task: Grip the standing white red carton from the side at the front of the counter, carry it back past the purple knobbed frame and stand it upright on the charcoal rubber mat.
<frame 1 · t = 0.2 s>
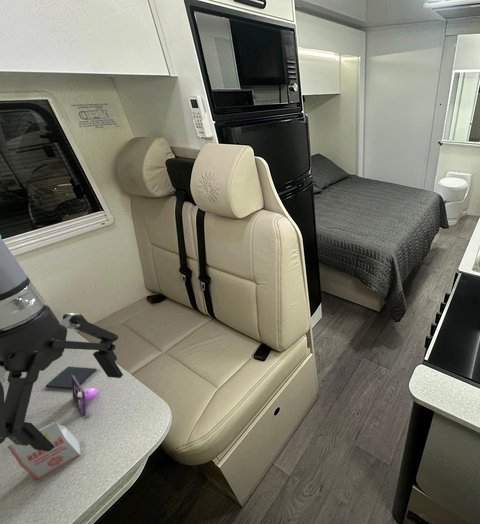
hand: (84, 407, 51), 18 cm above the table, tool pointing down, fingers open, 13 cm apart
mat: (72, 378, 79), on the table
white red carton: (59, 460, 60), on the table
purple knobbed frame: (90, 400, 73), on the table
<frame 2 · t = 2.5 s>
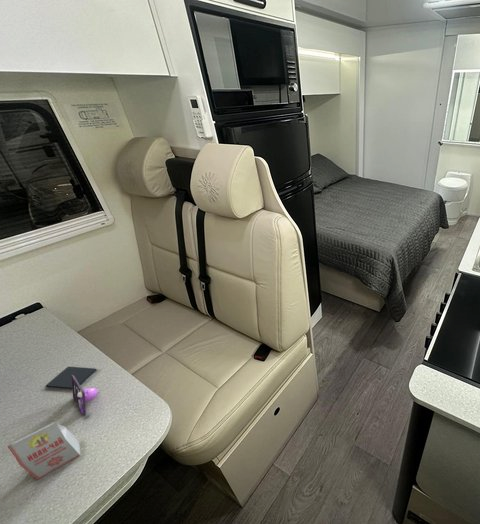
nothing on the table moved.
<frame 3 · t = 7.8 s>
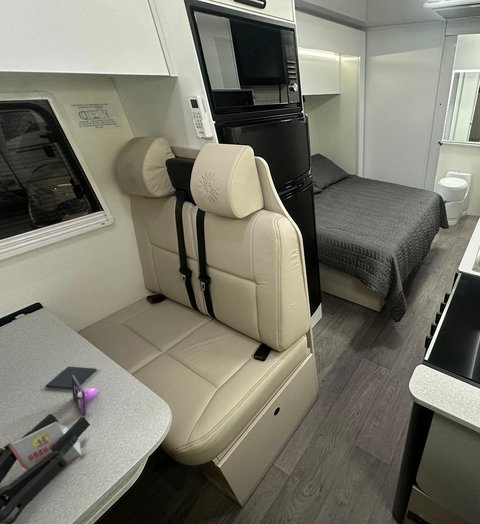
hand: (69, 419, 62), 6 cm above the table, tool horizontal, fingers closed on white red carton, 7 cm apart
white red carton: (60, 460, 61), on the table, touching gripper
everything else where it was.
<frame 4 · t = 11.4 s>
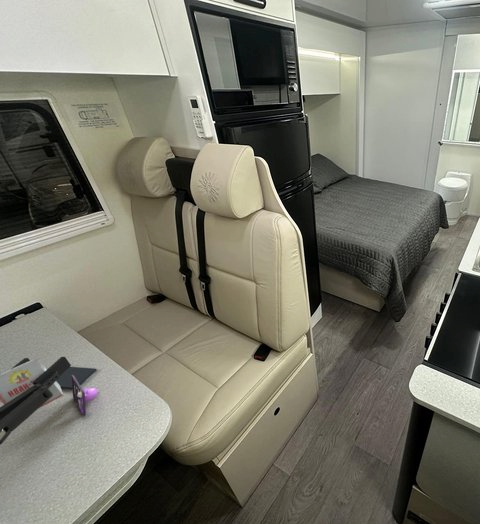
hand: (47, 361, 61), 18 cm above the table, tool horizontal, fingers closed on white red carton, 7 cm apart
white red carton: (41, 402, 60), point 12 cm above the table, touching gripper
everything else where it was.
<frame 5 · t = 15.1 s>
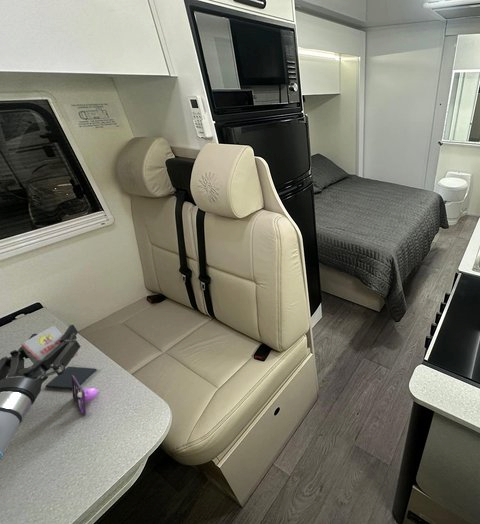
hand: (55, 333, 77), 13 cm above the table, tool horizontal, fingers closed on white red carton, 7 cm apart
white red carton: (59, 363, 76), point 7 cm above the table, touching gripper
everything else where it was.
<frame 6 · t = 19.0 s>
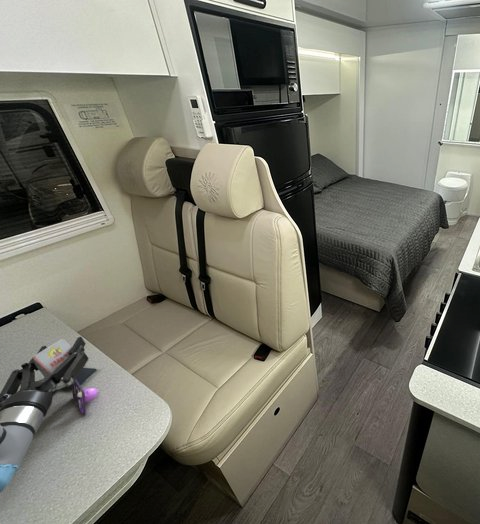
hand: (64, 345, 79), 8 cm above the table, tool horizontal, fingers closed on white red carton, 7 cm apart
white red carton: (68, 374, 78), point 2 cm above the table, touching gripper
everything else where it was.
when the fingers open (9 cm above the table, at t = 22.4 s): white red carton drops 2 cm, resting on mat.
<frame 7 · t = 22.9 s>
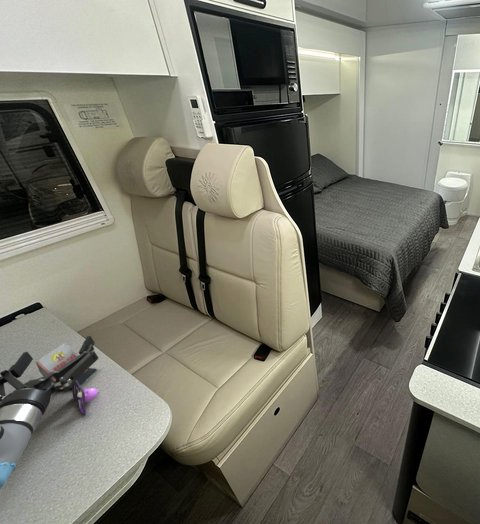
hand: (60, 347, 77), 9 cm above the table, tool horizontal, fingers open, 13 cm apart
white red carton: (71, 378, 79), resting on mat
everything else where it was.
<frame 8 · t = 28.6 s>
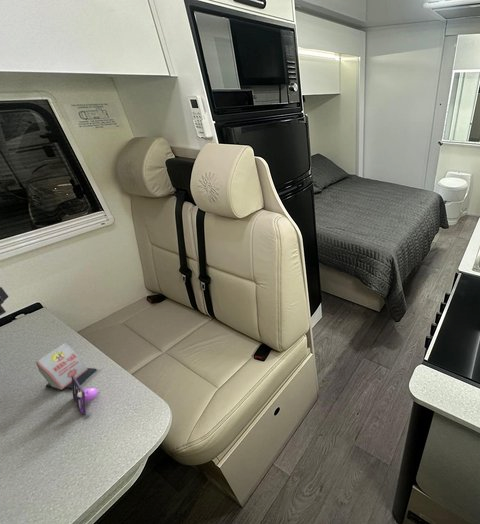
nothing on the table moved.
at the end: white red carton 0.4 cm off-centre on the mat, point 0.4 cm above the mat's base; white red carton tilted 0°; the gripper is holding nothing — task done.
